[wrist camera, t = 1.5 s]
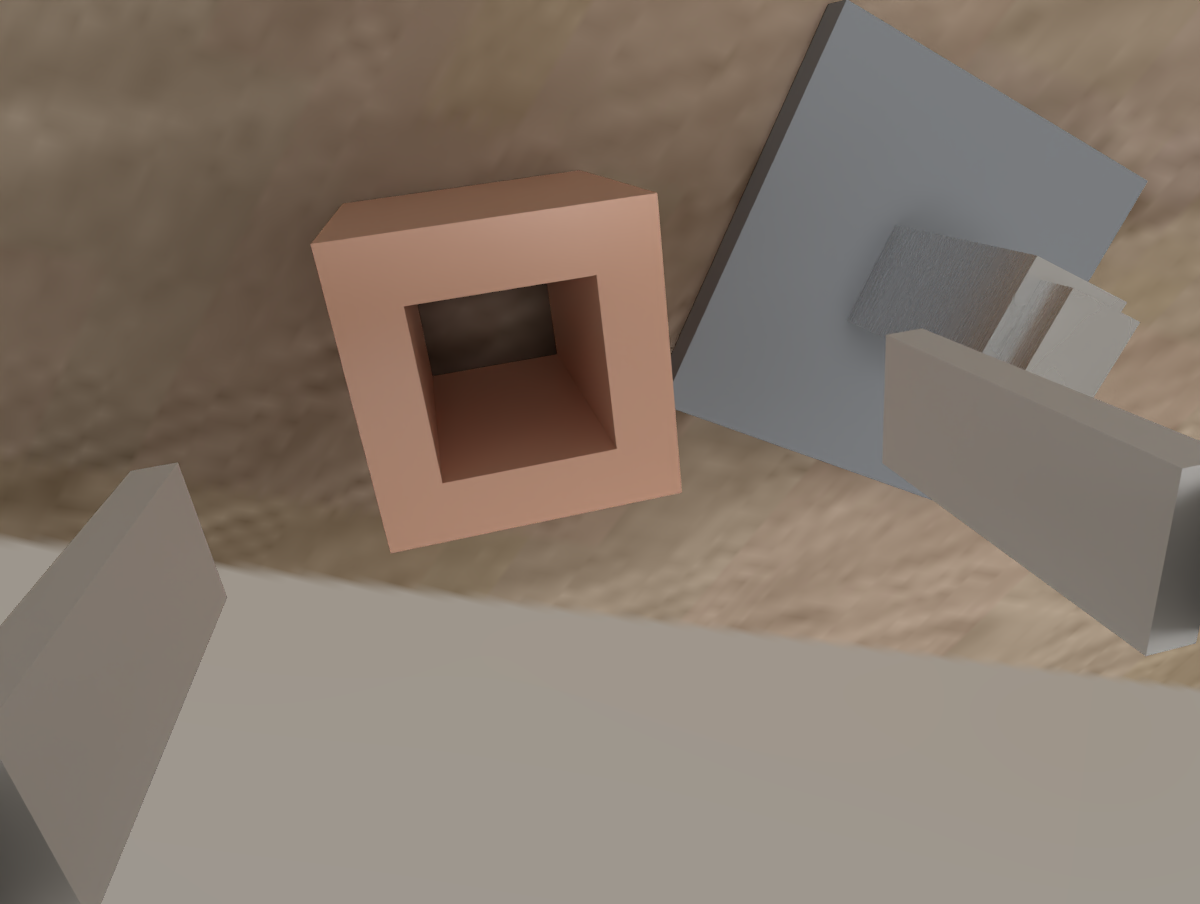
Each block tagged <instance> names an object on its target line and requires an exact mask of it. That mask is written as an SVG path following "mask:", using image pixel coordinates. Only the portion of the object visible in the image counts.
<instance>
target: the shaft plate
mask: <svg viewBox="0 0 1200 904" xmlns="http://www.w3.org/2000/svg"><path fill="white" fill-rule="evenodd" d="M1146 183H1147V180H1145V179H1144V178H1142V177H1140V176H1139V175H1137V174H1135V173H1134V172H1132V171H1130V170H1129V169H1127V168H1125V167H1124V166H1122V165H1120V164H1119V163H1117V162H1115V161H1114V160H1112V159H1110V158H1109V157H1107V156H1105V155H1104V154H1102V153H1101V152H1099V151H1097V150H1096V149H1094V148H1092V147H1091V146H1089V145H1087V144H1086V143H1084V142H1082V141H1081V140H1079V139H1077V138H1076V137H1074V136H1072V135H1071V134H1069V133H1067V132H1066V131H1064V130H1062V129H1061V128H1059V127H1057V126H1056V125H1054V124H1052V123H1051V122H1049V121H1048V120H1046V119H1044V118H1043V117H1041V116H1039V115H1038V114H1036V113H1034V112H1033V111H1031V110H1029V109H1028V108H1026V107H1024V106H1023V105H1021V104H1019V103H1018V102H1016V101H1014V100H1013V99H1011V98H1009V97H1008V96H1006V95H1004V94H1003V93H1001V92H999V91H998V90H996V89H995V88H993V87H991V86H990V85H988V84H986V83H985V82H983V81H981V80H980V79H978V78H976V77H975V76H973V75H971V74H970V73H968V72H966V71H965V70H963V69H961V68H960V67H958V66H956V65H955V64H953V63H951V62H950V61H948V60H947V59H945V58H943V57H942V56H940V55H938V54H937V53H935V52H933V51H932V50H930V49H928V48H927V47H925V46H923V45H922V44H920V43H918V42H917V41H915V40H913V39H912V38H910V37H908V36H907V35H905V34H903V33H902V32H900V31H898V30H897V29H895V28H894V27H892V26H890V25H889V24H887V23H885V22H884V21H882V20H880V19H879V18H877V17H875V16H874V15H872V14H870V13H869V12H867V11H865V10H864V9H862V8H860V7H859V6H857V5H855V4H854V3H852V2H850V1H849V0H842V1H839V2H835V3H831V4H828V6H827V9H826V11H825V13H824V15H823V17H822V20H821V22H820V24H819V26H818V29H817V31H816V33H815V35H814V38H813V40H812V42H811V44H810V46H809V49H808V51H807V53H806V55H805V58H804V60H803V62H802V64H801V67H800V69H799V71H798V73H797V75H796V78H795V80H794V82H793V84H792V87H791V89H790V91H789V93H788V95H787V98H786V100H785V102H784V104H783V107H782V109H781V111H780V113H779V116H778V118H777V120H776V122H775V124H774V127H773V129H772V131H771V133H770V136H769V138H768V140H767V142H766V145H765V147H764V149H763V151H762V153H761V156H760V158H759V160H758V162H757V165H756V167H755V169H754V171H753V174H752V176H751V178H750V180H749V182H748V185H747V187H746V189H745V191H744V194H743V196H742V198H741V200H740V203H739V205H738V207H737V209H736V211H735V214H734V216H733V218H732V220H731V223H730V225H729V227H728V229H727V232H726V234H725V236H724V238H723V240H722V243H721V245H720V247H719V249H718V252H717V254H716V256H715V258H714V261H713V263H712V265H711V267H710V269H709V272H708V274H707V276H706V278H705V281H704V283H703V285H702V287H701V289H700V292H699V294H698V296H697V298H696V301H695V303H694V305H693V307H692V310H691V312H690V314H689V316H688V318H687V321H686V323H685V325H684V327H683V330H682V332H681V334H680V336H679V339H678V341H677V343H676V345H675V347H674V350H673V352H672V354H671V365H672V377H673V389H674V401H675V409H676V410H679V411H682V412H684V413H687V414H690V415H693V416H696V417H699V418H701V419H704V420H707V421H710V422H713V423H716V424H718V425H721V426H724V427H727V428H730V429H733V430H735V431H738V432H741V433H744V434H747V435H750V436H752V437H755V438H758V439H761V440H764V441H767V442H769V443H772V444H775V445H778V446H781V447H784V448H786V449H789V450H792V451H795V452H798V453H800V454H803V455H806V456H809V457H812V458H815V459H817V460H820V461H823V462H826V463H829V464H832V465H834V466H837V467H840V468H843V469H846V470H849V471H851V472H854V473H857V474H860V475H863V476H866V477H868V478H871V479H874V480H877V481H880V482H883V483H885V484H888V485H891V486H894V487H897V488H900V489H902V490H905V491H908V492H911V493H914V494H917V495H919V496H922V497H925V498H928V499H931V498H929V497H928V496H926V495H925V494H924V493H922V492H921V491H920V490H918V489H917V488H915V487H914V486H913V485H911V484H910V483H909V482H907V481H906V480H905V479H903V478H902V477H900V476H899V475H898V474H896V473H895V472H894V471H892V470H891V469H890V468H888V467H887V466H885V465H884V464H883V463H882V457H883V422H884V386H885V351H886V338H884V337H882V336H880V335H877V334H875V333H873V332H871V331H869V330H867V329H864V328H862V327H860V326H858V325H856V324H853V323H851V322H849V321H847V318H848V316H849V314H850V312H851V310H852V308H853V306H854V304H855V302H856V300H857V298H858V296H859V294H860V292H861V290H862V288H863V286H864V284H865V282H866V280H867V278H868V276H869V274H870V272H871V270H872V268H873V266H874V264H875V263H876V261H877V259H878V257H879V255H880V253H881V251H882V249H883V247H884V245H885V243H886V241H887V239H888V237H889V235H890V233H891V231H892V229H893V227H894V225H898V226H903V227H907V228H912V229H916V230H921V231H926V232H930V233H935V234H940V235H944V236H949V237H953V238H958V239H963V240H967V241H972V242H977V243H981V244H986V245H991V246H995V247H1000V248H1004V249H1009V250H1014V251H1018V252H1023V253H1028V254H1032V255H1037V256H1039V257H1041V258H1043V259H1045V260H1047V261H1049V262H1051V263H1052V264H1054V265H1056V266H1058V267H1060V268H1062V269H1064V270H1066V271H1068V272H1070V273H1072V274H1074V275H1076V276H1077V277H1079V278H1081V279H1083V280H1085V281H1087V282H1088V281H1089V280H1090V278H1091V276H1092V275H1093V273H1094V271H1095V270H1096V268H1097V266H1098V264H1099V263H1100V261H1101V259H1102V258H1103V256H1104V254H1105V253H1106V251H1107V249H1108V248H1109V246H1110V244H1111V242H1112V241H1113V239H1114V237H1115V236H1116V234H1117V232H1118V231H1119V229H1120V227H1121V225H1122V224H1123V222H1124V220H1125V219H1126V217H1127V215H1128V214H1129V212H1130V210H1131V209H1132V207H1133V205H1134V203H1135V202H1136V200H1137V198H1138V197H1139V195H1140V193H1141V192H1142V190H1143V188H1144V187H1145V185H1146ZM931 500H932V499H931Z"/></svg>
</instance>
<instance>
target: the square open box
mask: <svg viewBox="0 0 1200 904" xmlns="http://www.w3.org/2000/svg"><path fill="white" fill-rule="evenodd" d="M311 248H312V252H313V255H314V259H315V263H316V267H317V271H318V275H319V279H320V282H321V286H322V290H323V294H324V298H325V302H326V305H327V309H328V313H329V317H330V321H331V325H332V329H333V332H334V336H335V340H336V344H337V348H338V352H339V356H340V359H341V363H342V367H343V371H344V375H345V379H346V383H347V386H348V390H349V394H350V398H351V402H352V406H353V410H354V413H355V417H356V421H357V425H358V429H359V433H360V437H361V440H362V444H363V448H364V452H365V456H366V460H367V464H368V467H369V471H370V475H371V479H372V483H373V487H374V491H375V494H376V498H377V502H378V506H379V510H380V514H381V518H382V521H383V525H384V529H385V533H386V537H387V541H388V544H389V548H390V552H391V553H395V552H400V551H405V550H409V549H414V548H419V547H424V546H428V545H433V544H438V543H443V542H448V541H452V540H457V539H462V538H467V537H472V536H476V535H481V534H486V533H491V532H496V531H500V530H505V529H510V528H515V527H519V526H524V525H529V524H534V523H539V522H543V521H548V520H553V519H558V518H563V517H567V516H572V515H577V514H582V513H586V512H591V511H596V510H601V509H606V508H610V507H615V506H620V505H625V504H630V503H634V502H639V501H644V500H649V499H654V498H658V497H663V496H668V495H673V494H677V493H682V486H681V474H680V462H679V450H678V438H677V426H676V413H675V401H674V389H673V377H672V365H671V353H670V340H669V328H668V316H667V304H666V292H665V280H664V268H663V255H662V243H661V231H660V219H659V207H658V195H657V193H656V192H652V191H649V190H646V189H642V188H639V187H635V186H632V185H629V184H625V183H622V182H618V181H615V180H612V179H608V178H605V177H601V176H598V175H595V174H591V173H588V172H584V171H581V170H577V171H570V172H563V173H556V174H549V175H542V176H535V177H528V178H520V179H513V180H506V181H499V182H492V183H485V184H478V185H471V186H464V187H457V188H449V189H442V190H435V191H428V192H421V193H414V194H407V195H400V196H393V197H385V198H378V199H371V200H364V201H357V202H350V203H343V204H342V205H341V206H340V208H339V209H338V210H337V211H336V213H335V214H334V215H333V216H332V218H331V219H330V220H329V222H328V223H327V224H326V225H325V227H324V228H323V229H322V230H321V232H320V233H319V234H318V235H317V237H316V238H315V239H314V240H313V242H312V243H311ZM545 283H547V288H548V295H549V302H550V309H551V316H552V323H553V330H554V337H555V344H556V351H557V354H556V355H550V356H544V357H539V358H533V359H527V360H522V361H516V362H510V363H505V364H499V365H493V366H488V367H482V368H476V369H471V370H465V371H459V372H454V373H448V374H442V375H437V376H432V371H431V366H430V361H429V357H428V352H427V347H426V343H425V338H424V333H423V328H422V324H421V319H420V314H419V310H418V305H417V304H422V303H428V302H434V301H440V300H446V299H453V298H459V297H465V296H471V295H477V294H483V293H490V292H496V291H502V290H508V289H514V288H520V287H527V286H533V285H539V284H545Z"/></svg>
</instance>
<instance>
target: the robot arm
mask: <svg viewBox="0 0 1200 904" xmlns="http://www.w3.org/2000/svg"><path fill="white" fill-rule="evenodd" d="M882 463H883V464H884V465H885V466H887V467H888V468H890V469H891V470H892V471H894V472H895V473H896V474H898V475H899V476H900V477H902V478H903V479H905V480H906V481H907V482H909V483H910V484H911V485H913V486H914V487H915V488H917V489H918V490H920V491H921V492H922V493H924V494H925V495H926V496H928V497H929V498H931V499H932V500H933V501H935V502H936V503H937V504H939V505H940V506H941V507H943V508H944V509H946V510H947V511H948V512H950V513H951V514H952V515H954V516H955V517H956V518H958V519H959V520H961V521H962V522H963V523H965V524H966V525H967V526H969V527H970V528H971V529H973V530H974V531H976V532H977V533H978V534H980V535H981V536H982V537H984V538H985V539H986V540H988V541H989V542H991V543H992V544H993V545H995V546H996V547H997V548H999V549H1000V550H1001V551H1003V552H1004V553H1006V554H1007V555H1008V556H1010V557H1011V558H1012V559H1014V560H1015V561H1016V562H1018V563H1019V564H1021V565H1022V566H1023V567H1025V568H1026V569H1027V570H1029V571H1030V572H1032V573H1033V574H1034V575H1036V576H1037V577H1038V578H1040V579H1041V580H1042V581H1044V582H1045V583H1047V584H1048V585H1049V586H1051V587H1052V588H1053V589H1055V590H1056V591H1057V592H1059V593H1060V594H1062V595H1063V596H1064V597H1066V598H1067V599H1068V600H1070V601H1071V602H1072V603H1074V604H1075V605H1077V606H1078V607H1079V608H1081V609H1082V610H1083V611H1085V612H1086V613H1087V614H1089V615H1090V616H1092V617H1093V618H1094V619H1096V620H1097V621H1098V622H1100V623H1101V624H1102V625H1104V626H1105V627H1107V628H1108V629H1109V630H1111V631H1112V632H1113V633H1115V634H1116V635H1118V636H1119V637H1120V638H1122V639H1123V640H1124V641H1126V642H1127V643H1128V644H1130V645H1131V646H1133V647H1134V648H1135V649H1137V650H1138V651H1139V652H1141V653H1142V654H1143V655H1145V656H1148V655H1152V654H1156V653H1160V652H1164V651H1168V650H1172V649H1176V648H1179V647H1183V646H1187V645H1191V644H1195V643H1196V640H1197V636H1198V631H1199V627H1200V441H1199V440H1196V439H1194V438H1191V437H1189V436H1186V435H1184V434H1181V433H1179V432H1176V431H1174V430H1171V429H1169V428H1167V427H1164V426H1162V425H1159V424H1157V423H1154V422H1152V421H1149V420H1147V419H1144V418H1142V417H1139V416H1137V415H1134V414H1132V413H1130V412H1127V411H1125V410H1122V409H1120V408H1117V407H1115V406H1112V405H1110V404H1107V403H1105V402H1102V401H1100V400H1097V399H1095V398H1093V397H1090V396H1088V395H1085V394H1083V393H1080V392H1078V391H1075V390H1073V389H1070V388H1068V387H1065V386H1063V385H1060V384H1058V383H1056V382H1053V381H1051V380H1048V379H1046V378H1043V377H1041V376H1038V375H1036V374H1033V373H1031V372H1028V371H1026V370H1023V369H1021V368H1019V367H1016V366H1014V365H1011V364H1009V363H1006V362H1004V361H1001V360H999V359H996V358H994V357H991V356H989V355H986V354H984V353H981V352H979V351H977V350H974V349H972V348H969V347H967V346H964V345H962V344H959V343H957V342H954V341H952V340H949V339H947V338H944V337H942V336H940V335H937V334H935V333H932V332H930V331H927V330H925V329H922V328H921V329H916V330H910V331H905V332H899V333H894V334H888V335H886V351H885V386H884V422H883V457H882ZM226 598H227V596H226V593H225V591H224V588H223V585H222V582H221V580H220V577H219V574H218V571H217V569H216V566H215V563H214V560H213V558H212V555H211V552H210V549H209V547H208V544H207V541H206V538H205V536H204V533H203V530H202V527H201V525H200V522H199V519H198V516H197V514H196V511H195V508H194V505H193V503H192V500H191V497H190V494H189V492H188V489H187V486H186V483H185V481H184V478H183V475H182V472H181V470H180V467H179V464H178V462H177V463H172V464H166V465H161V466H155V467H150V468H144V469H138V470H133V471H130V472H129V473H128V475H127V476H126V477H125V478H124V479H123V480H122V482H121V483H120V484H119V485H118V486H117V488H116V489H115V490H114V491H113V492H112V494H111V495H110V496H109V497H108V498H107V500H106V501H105V502H104V503H103V504H102V505H101V507H100V508H99V509H98V510H97V511H96V513H95V514H94V515H93V516H92V517H91V519H90V520H89V521H88V522H87V523H86V524H85V526H84V527H83V528H82V529H81V530H80V532H79V533H78V534H77V535H76V536H75V538H74V539H73V540H72V541H71V542H70V543H69V545H68V546H67V547H66V548H65V549H64V551H63V552H62V553H61V554H60V555H59V557H58V558H57V559H56V560H55V561H54V563H53V564H52V565H51V566H50V567H49V568H48V570H47V571H46V572H45V573H44V575H43V576H42V577H41V578H40V579H39V580H38V582H37V583H36V584H35V585H34V586H33V588H32V589H31V590H30V591H29V592H28V594H27V595H26V596H25V597H24V598H23V599H22V601H21V602H20V603H19V604H18V606H17V607H16V608H15V609H14V610H13V611H12V613H11V614H10V615H9V616H8V617H7V619H6V620H5V621H4V622H3V623H2V624H1V626H0V904H101V902H102V900H103V898H104V895H105V893H106V890H107V888H108V885H109V883H110V881H111V878H112V876H113V873H114V871H115V868H116V866H117V863H118V861H119V859H120V856H121V853H122V851H123V849H124V847H125V844H126V842H127V839H128V837H129V834H130V832H131V829H132V827H133V825H134V822H135V820H136V817H137V815H138V812H139V810H140V808H141V805H142V802H143V800H144V798H145V795H146V793H147V791H148V788H149V786H150V783H151V781H152V778H153V776H154V774H155V771H156V769H157V766H158V764H159V761H160V759H161V757H162V754H163V752H164V749H165V747H166V744H167V742H168V740H169V737H170V735H171V732H172V730H173V727H174V725H175V723H176V720H177V718H178V715H179V713H180V710H181V708H182V706H183V703H184V700H185V698H186V696H187V693H188V691H189V689H190V686H191V684H192V681H193V679H194V676H195V674H196V672H197V669H198V667H199V664H200V662H201V659H202V657H203V654H204V652H205V650H206V647H207V644H208V642H209V640H210V637H211V635H212V633H213V630H214V628H215V625H216V623H217V620H218V618H219V616H220V613H221V611H222V608H223V606H224V603H225V601H226Z"/></svg>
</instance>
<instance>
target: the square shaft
mask: <svg viewBox="0 0 1200 904" xmlns="http://www.w3.org/2000/svg"><path fill="white" fill-rule="evenodd" d="M1126 303H1127V302H1126V301H1124V300H1122V299H1120V298H1118V297H1116V296H1114V295H1112V294H1110V293H1108V292H1106V291H1104V290H1102V289H1101V288H1099V287H1097V286H1095V285H1093V284H1091V283H1089V282H1087V281H1085V280H1083V279H1081V278H1079V277H1077V276H1076V275H1074V274H1072V273H1070V272H1068V271H1066V270H1064V269H1062V268H1060V267H1058V266H1056V265H1054V264H1052V263H1051V262H1049V261H1047V260H1045V259H1043V258H1041V257H1039V256H1037V255H1032V254H1028V253H1023V252H1018V251H1014V250H1009V249H1004V248H1000V247H995V246H991V245H986V244H981V243H977V242H972V241H967V240H963V239H958V238H953V237H949V236H944V235H940V234H935V233H930V232H926V231H921V230H916V229H912V228H907V227H903V226H898V225H894V227H893V229H892V231H891V233H890V235H889V237H888V239H887V241H886V243H885V245H884V247H883V249H882V251H881V253H880V255H879V257H878V259H877V261H876V263H875V264H874V266H873V268H872V270H871V272H870V274H869V276H868V278H867V280H866V282H865V284H864V286H863V288H862V290H861V292H860V294H859V296H858V298H857V300H856V302H855V304H854V306H853V308H852V310H851V312H850V314H849V316H848V318H847V321H849V322H851V323H853V324H856V325H858V326H860V327H862V328H864V329H867V330H869V331H871V332H873V333H875V334H877V335H880V336H882V337H884V338H886V335H888V334H894V333H899V332H905V331H910V330H916V329H921V328H922V329H925V330H927V331H930V332H932V333H935V334H937V335H940V336H942V337H944V338H947V339H949V340H952V341H954V342H957V343H959V344H962V345H964V346H967V347H969V348H972V349H974V350H977V351H979V352H981V353H984V354H986V355H989V356H991V357H994V358H996V359H999V360H1001V361H1004V362H1006V363H1009V364H1011V365H1014V366H1016V367H1019V368H1021V369H1023V370H1026V371H1028V372H1031V373H1033V374H1036V375H1038V376H1041V377H1043V378H1046V379H1048V380H1051V381H1053V382H1056V383H1058V384H1060V385H1063V386H1065V387H1068V388H1070V389H1073V390H1075V391H1078V392H1080V393H1083V394H1085V395H1088V396H1090V397H1093V398H1094V396H1095V394H1096V393H1097V391H1098V389H1099V388H1100V386H1101V385H1102V383H1103V381H1104V380H1105V378H1106V377H1107V375H1108V373H1109V372H1110V370H1111V368H1112V367H1113V365H1114V364H1115V362H1116V360H1117V359H1118V357H1119V355H1120V354H1121V352H1122V351H1123V349H1124V347H1125V346H1126V344H1127V343H1128V341H1129V339H1130V338H1131V336H1132V334H1133V333H1134V331H1135V330H1136V328H1137V326H1138V325H1139V323H1140V322H1139V321H1137V320H1135V319H1133V318H1131V317H1129V316H1127V315H1125V314H1123V313H1121V311H1122V310H1123V308H1124V306H1125V305H1126Z"/></svg>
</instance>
